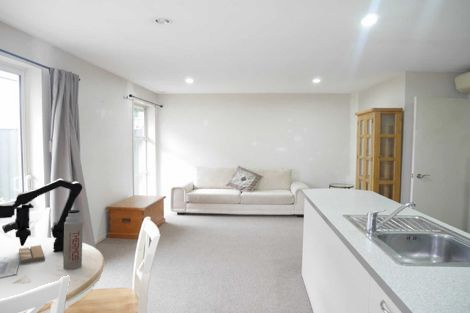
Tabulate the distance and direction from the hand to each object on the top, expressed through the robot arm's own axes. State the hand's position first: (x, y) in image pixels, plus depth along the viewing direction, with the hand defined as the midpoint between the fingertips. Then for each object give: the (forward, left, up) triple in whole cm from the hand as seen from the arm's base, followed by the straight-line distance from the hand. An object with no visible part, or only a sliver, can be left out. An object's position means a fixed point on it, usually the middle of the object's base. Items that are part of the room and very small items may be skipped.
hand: (22, 245), depth 155 cm
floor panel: (-5, +2, -5) cm, 8 cm away
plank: (-3, +3, -4) cm, 6 cm away
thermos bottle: (-29, +20, -5) cm, 36 cm away
